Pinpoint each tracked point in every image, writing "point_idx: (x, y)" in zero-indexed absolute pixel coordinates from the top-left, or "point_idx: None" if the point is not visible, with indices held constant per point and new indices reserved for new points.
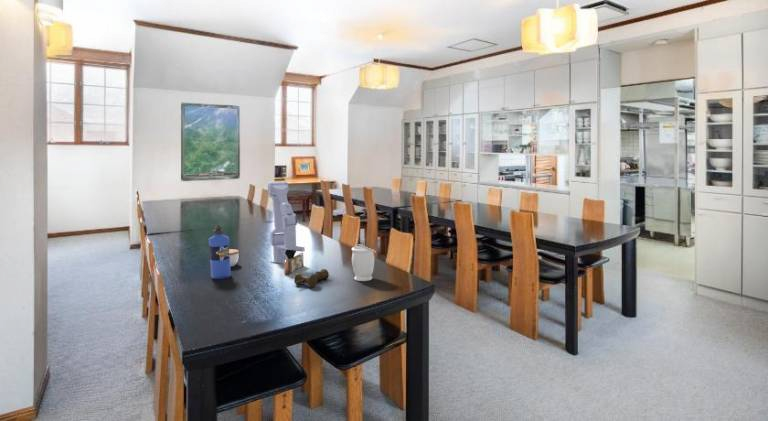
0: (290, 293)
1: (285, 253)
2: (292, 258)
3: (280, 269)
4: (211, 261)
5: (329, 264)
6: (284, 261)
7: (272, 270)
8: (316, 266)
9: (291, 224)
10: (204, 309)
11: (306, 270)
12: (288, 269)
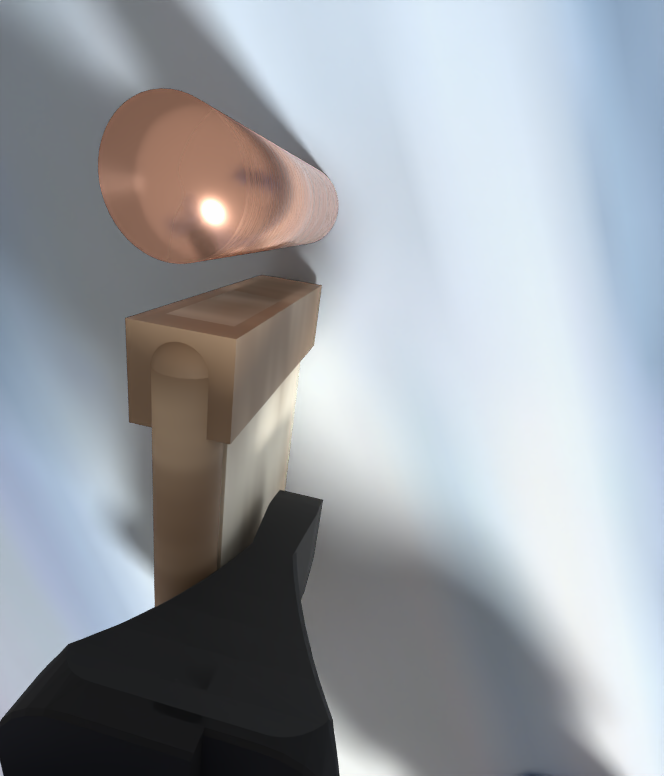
0: None
1: (310, 719)
2: (154, 540)
3: (501, 525)
4: None
5: (7, 668)
6: (206, 106)
7: (631, 476)
8: (90, 617)
9: None
10: None
11: (117, 463)
12: (267, 286)
